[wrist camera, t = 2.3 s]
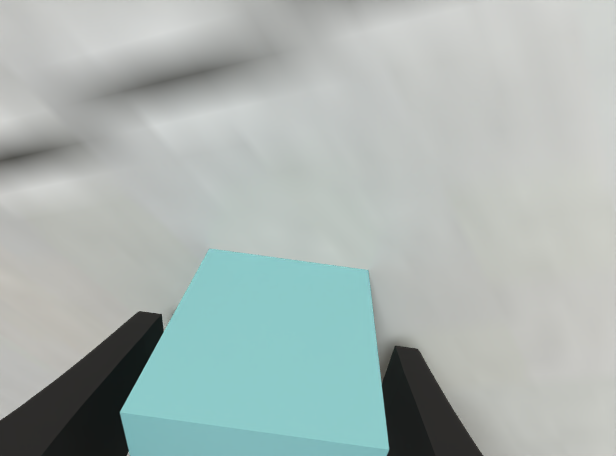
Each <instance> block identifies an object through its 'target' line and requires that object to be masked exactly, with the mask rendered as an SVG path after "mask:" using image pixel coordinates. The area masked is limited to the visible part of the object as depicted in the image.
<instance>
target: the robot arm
mask: <svg viewBox="0 0 616 456" xmlns="http://www.w3.org/2000/svg"><path fill="white" fill-rule="evenodd" d="M163 333H164V330H163V322H162V314H156V313H149V312H141V311H139V312H138V313H136V314H135V315H134V316H133V317H131V318H130V319H129V320H128V321H127V322H125V323H124V324H123V325H122V326H121V327H120V328H118V329H117V330H116V331H115V332H114V333H113V334H111V335H110V336H109V337H108V338H107V339H106V340H104V341H103V342H102V343H101V344H100V345H98V346H97V347H96V348H95V349H94V350H92V351H91V352H90V353H89V354H87V355H86V356H85V357H84V358H83V359H81V360H80V361H79V362H78V363H76V364H75V365H74V366H73V367H71V368H70V369H69V370H68V371H66V372H65V373H64V374H63V375H61V376H60V377H59V378H58V379H56V380H55V381H54V382H52V383H51V384H50V385H48V386H47V387H46V388H44V389H43V390H42V391H40V392H39V393H38V394H36V395H35V396H34V397H32V398H31V399H30V400H28V401H27V402H26V403H24V404H23V405H22V406H20V407H19V408H17V409H16V410H15V411H13V412H12V413H10V414H9V415H8V416H6V417H5V418H3V419H2V420H0V456H127V454H128V452H129V449H128V445H127V441H126V436H125V432H124V428H123V424H122V420H121V415H120V411H121V409H122V407H123V406H124V404H125V402H126V400H127V398H128V396H129V395H130V393H131V391H132V389H133V387H134V385H135V384H136V382H137V380H138V378H139V376H140V375H141V373H142V371H143V369H144V367H145V365H146V364H147V362H148V360H149V358H150V356H151V354H152V353H153V351H154V349H155V347H156V345H157V343H158V342H159V340H160V338H161V336H162V334H163ZM382 392H383V401H384V409H385V418H386V426H387V435H388V444H389V451H388V454H387V456H483V455H482V453H481V452H480V450H479V449H478V447H477V446H476V444H475V443H474V441H473V440H472V438H471V437H470V435H469V434H468V432H467V431H466V429H465V427H464V426H463V424H462V423H461V421H460V420H459V418H458V416H457V415H456V413H455V412H454V410H453V408H452V407H451V405H450V403H449V402H448V400H447V399H446V397H445V395H444V393H443V392H442V390H441V388H440V387H439V385H438V383H437V381H436V380H435V378H434V376H433V374H432V373H431V371H430V369H429V367H428V366H427V364H426V362H425V360H424V358H423V357H422V355H421V353H420V352H419V350H418V349H415V348H408V347H400V346H395V348H394V351H393V353H392V356H391V359H390V362H389V365H388V368H387V371H386V374H385V377H384V380H383V383H382Z"/></svg>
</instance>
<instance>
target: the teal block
mask: <svg viewBox="0 0 616 456" xmlns="http://www.w3.org/2000/svg"><path fill="white" fill-rule="evenodd" d="M120 415H121V420H122V424H123V428H124V432H125V436H126V441H127V445H128V449H129V453H130V456H387V454H388V451H389V444H388V435H387V426H386V418H385V409H384V401H383V392H382V384H381V375H380V366H379V358H378V349H377V341H376V332H375V324H374V315H373V306H372V298H371V289H370V281H369V272H368V270H364V269H356V268H349V267H341V266H334V265H327V264H319V263H312V262H304V261H297V260H290V259H282V258H275V257H267V256H260V255H253V254H245V253H238V252H231V251H223V250H216V249H209V250H208V252H207V254H206V256H205V258H204V259H203V261H202V263H201V265H200V267H199V269H198V270H197V272H196V274H195V276H194V278H193V280H192V281H191V283H190V285H189V287H188V289H187V291H186V292H185V294H184V296H183V298H182V300H181V301H180V303H179V305H178V307H177V309H176V311H175V312H174V314H173V316H172V318H171V320H170V322H169V323H168V325H167V327H166V329H165V331H164V333H163V334H162V336H161V338H160V340H159V342H158V343H157V345H156V347H155V349H154V351H153V353H152V354H151V356H150V358H149V360H148V362H147V364H146V365H145V367H144V369H143V371H142V373H141V375H140V376H139V378H138V380H137V382H136V384H135V385H134V387H133V389H132V391H131V393H130V395H129V396H128V398H127V400H126V402H125V404H124V406H123V407H122V409H121V411H120Z"/></svg>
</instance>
